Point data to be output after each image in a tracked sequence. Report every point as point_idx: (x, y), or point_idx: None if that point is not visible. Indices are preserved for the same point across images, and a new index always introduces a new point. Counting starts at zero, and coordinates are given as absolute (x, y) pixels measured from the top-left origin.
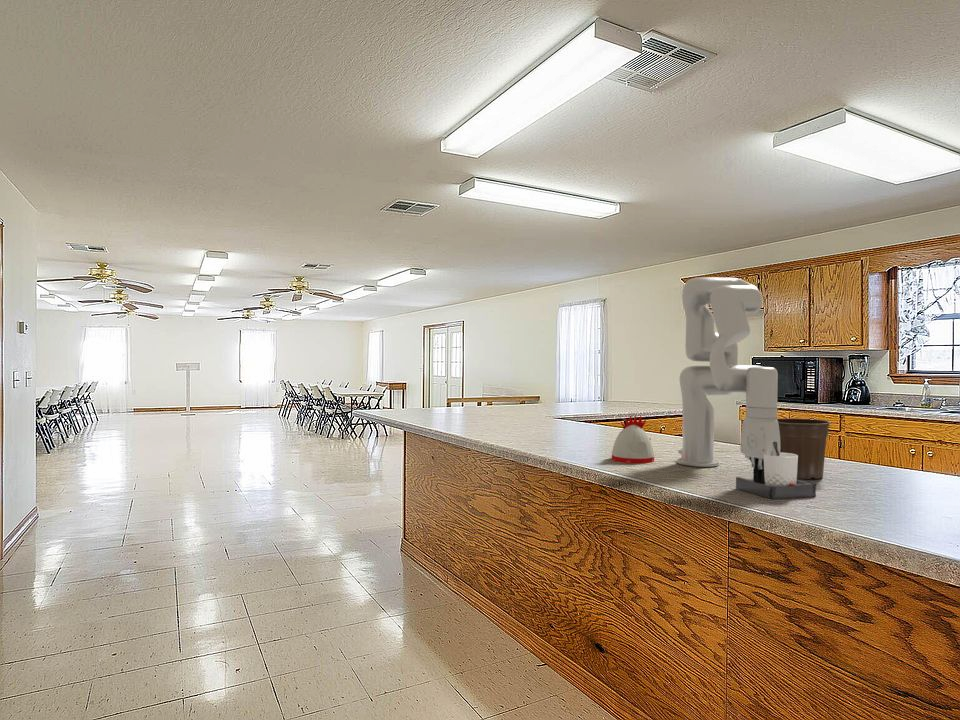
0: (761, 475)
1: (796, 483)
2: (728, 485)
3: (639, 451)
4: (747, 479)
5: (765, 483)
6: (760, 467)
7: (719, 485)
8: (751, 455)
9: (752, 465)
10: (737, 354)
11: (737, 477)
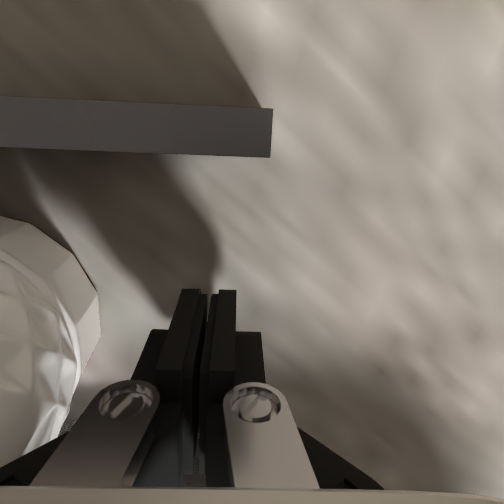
0: (149, 356)
1: None
2: (397, 147)
3: None
4: (104, 135)
5: (22, 267)
6: (109, 402)
7: (434, 61)
8: (170, 494)
9: (278, 407)
10: None
11: (248, 109)
